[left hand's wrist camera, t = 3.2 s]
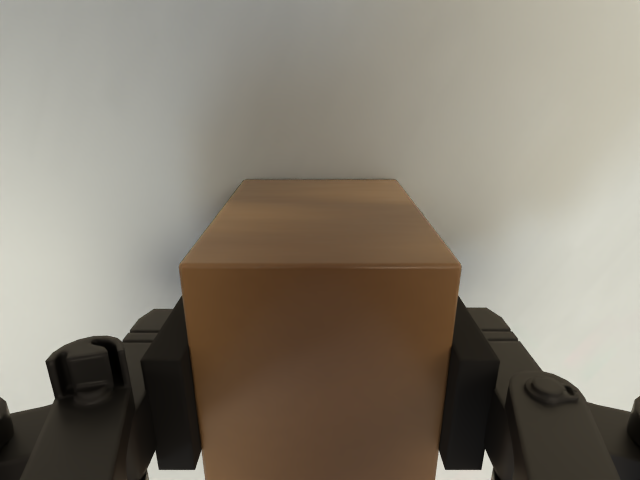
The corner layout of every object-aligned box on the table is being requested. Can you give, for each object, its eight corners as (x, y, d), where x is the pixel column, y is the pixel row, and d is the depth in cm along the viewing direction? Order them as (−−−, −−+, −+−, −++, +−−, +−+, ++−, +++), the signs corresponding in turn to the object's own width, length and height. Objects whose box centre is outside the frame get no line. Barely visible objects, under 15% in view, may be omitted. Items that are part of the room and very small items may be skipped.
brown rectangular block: (252, 335, 17) (207, 509, 10) (243, 178, 15) (177, 264, 8) (387, 335, 17) (432, 509, 10) (396, 178, 15) (463, 264, 8)
